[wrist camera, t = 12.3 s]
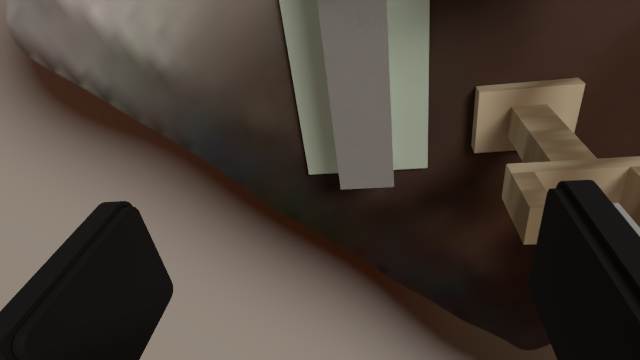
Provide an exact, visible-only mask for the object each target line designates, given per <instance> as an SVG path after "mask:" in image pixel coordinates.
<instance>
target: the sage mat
mask: <svg viewBox="0 0 640 360" xmlns="http://www.w3.org/2000/svg"><path fill="white" fill-rule="evenodd" d="M279 3H280V8H281V14H282V20H283V26H284V32H285V38H286V44H287V49H288V55H289V61H290V67H291V73H292V79H293V84H294V90H295V96H296V102H297V108H298V114H299V119H300V125H301V131H302V137H303V143H304V149H305V155H306V160H307V166H308V172H309V175H311V174H329V173H339V172H338V164H337V156H336V148H335V140H334V132H333V124H332V116H331V108H330V100H329V92H328V84H327V76H326V68H325V60H324V52H323V44H322V36H321V28H320V20H319V12H318V4H317V0H279ZM429 14H430V0H387V22H388V47H389V72H390V98H391V123H392V148H393V170H399V169H417V168H427V163H428V88H429Z"/></svg>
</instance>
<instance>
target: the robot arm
mask: <svg viewBox="0 0 640 360" xmlns="http://www.w3.org/2000/svg"><path fill="white" fill-rule="evenodd" d="M529 289H530V293H531V296H532V299H533V301H534V304H535V306H536V309H537V311H538V314H539V316H540V318H541V321H542V323H543V326H544V328H545V331H546V333H547V335H548V338H549V340H550V343H551V345H552V347H553V350H554V352H555V355H556V357H557V360H640V236H639V235H638V234H637V233H636V231H635V230H634V229H633V228H632V226H631V225H630V224H629V223H628V222H627V220H626V219H625V218H624V217H623V215H622V214H621V213H620V212H619V211H618V209H617V208H616V207H615V206H614V204H613V203H612V202H611V201H610V200H609V198H608V197H607V196H606V195H605V193H604V192H603V191H602V190H601V189H600V187H599V186H598V185H597V184H596V183H595V182H594V181H593V180H572V181H560V182H559V183H558V184H557V186H556V188H551V189H549V190H548V192H547V195H546V200H545V205H544V210H543V214H542V219H541V224H540V229H539V234H538V239H537V243H536V248H535V253H534V258H533V263H532V268H531V272H530V277H529ZM172 293H173V284H172V281H171V279H170V277H169V275H168V273H167V271H166V268H165V266H164V264H163V262H162V260H161V258H160V256H159V253H158V251H157V249H156V247H155V245H154V243H153V241H152V238H151V236H150V234H149V232H148V230H147V227H146V225H145V223H144V221H143V219H142V217H141V215H140V212H139V211H138V209H136V208H135V207H133V206H132V205H131V204H130V203H129V202H126V201H120V202H104V203H101V204H100V205H99V206H98V207H97V208H96V209H95V210H94V211H93V212H92V213H91V214H90V215H89V216H88V217H87V219H86V220H85V221H84V222H83V223H82V224H81V225H80V226H79V227H78V228H77V229H76V230H75V231H74V233H73V234H72V235H71V236H70V237H69V238H68V239H67V240H66V241H65V242H64V243H63V245H62V246H61V247H60V248H59V249H58V250H57V251H56V252H55V253H54V254H53V255H52V256H51V257H50V258H49V260H48V261H47V262H46V263H45V264H44V265H43V266H42V267H41V268H40V269H39V270H38V271H37V273H36V274H35V275H34V276H33V277H32V278H31V279H30V280H29V281H28V282H27V283H26V284H25V285H24V287H23V288H22V289H21V290H20V291H19V292H18V293H17V294H16V295H15V296H14V297H13V298H12V300H11V301H10V302H9V303H8V304H7V305H6V306H5V307H4V308H3V309H2V310H1V311H0V360H139V359H140V357H141V355H142V353H143V351H144V349H145V348H146V346H147V344H148V342H149V340H150V338H151V336H152V334H153V332H154V330H155V328H156V326H157V324H158V322H159V321H160V318H161V317H162V315H163V313H164V311H165V309H166V307H167V305H168V303H169V301H170V299H171V297H172Z"/></svg>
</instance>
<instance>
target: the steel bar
mask: <svg viewBox="0 0 640 360" xmlns="http://www.w3.org/2000/svg"><path fill="white" fill-rule="evenodd" d="M317 4H318V12H319V20H320V28H321V36H322V44H323V52H324V60H325V68H326V76H327V84H328V92H329V100H330V108H331V116H332V124H333V132H334V140H335V148H336V156H337V164H338V172H339V180H340V188H341V190H342V189H362V188H382V187H394V173H393V148H392V123H391V98H390V72H389V47H388V22H387V0H317Z"/></svg>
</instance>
